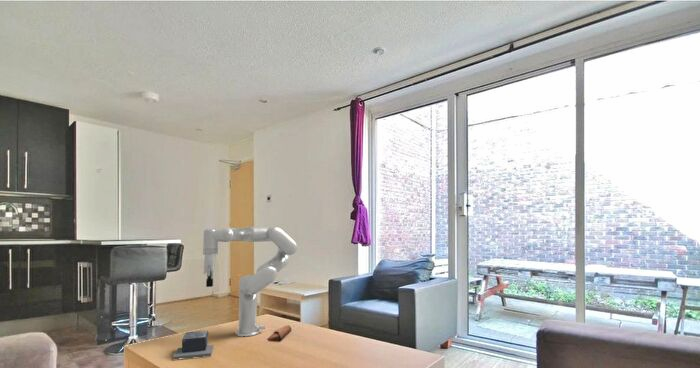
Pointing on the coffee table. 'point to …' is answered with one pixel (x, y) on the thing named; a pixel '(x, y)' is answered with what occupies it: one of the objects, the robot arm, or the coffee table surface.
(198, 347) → the small box
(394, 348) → the coffee table surface
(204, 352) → the rubber pad
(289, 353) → the coffee table surface
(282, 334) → the sunglasses case
